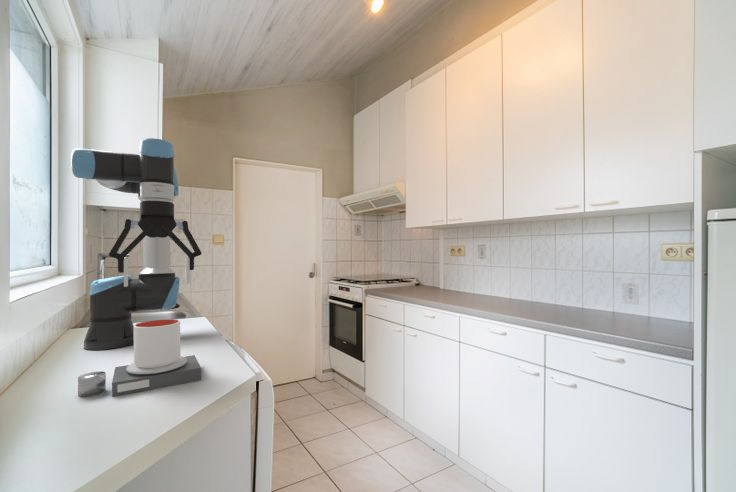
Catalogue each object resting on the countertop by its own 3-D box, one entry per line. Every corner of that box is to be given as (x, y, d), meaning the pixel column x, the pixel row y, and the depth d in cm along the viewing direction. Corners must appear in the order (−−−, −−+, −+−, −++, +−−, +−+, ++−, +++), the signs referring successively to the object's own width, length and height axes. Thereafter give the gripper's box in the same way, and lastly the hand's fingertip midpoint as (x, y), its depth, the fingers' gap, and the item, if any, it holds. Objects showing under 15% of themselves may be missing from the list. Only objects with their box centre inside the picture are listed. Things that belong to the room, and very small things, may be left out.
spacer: (79, 391, 83) (79, 374, 83) (106, 387, 86) (106, 370, 86) (76, 399, 79) (76, 380, 79) (104, 394, 81) (104, 376, 81)
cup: (188, 357, 94) (188, 319, 95) (163, 370, 84) (163, 327, 85) (152, 357, 95) (152, 319, 96) (123, 369, 85) (123, 327, 86)
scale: (115, 379, 91) (115, 363, 91) (194, 365, 100) (194, 351, 100) (111, 397, 79) (111, 378, 79) (201, 380, 89) (201, 364, 89)
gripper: (94, 196, 83) (95, 289, 83) (212, 202, 96) (212, 282, 96) (98, 199, 89) (98, 286, 89) (207, 205, 102) (208, 280, 102)
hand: (157, 284), depth 93 cm, fingers open, 13 cm apart
